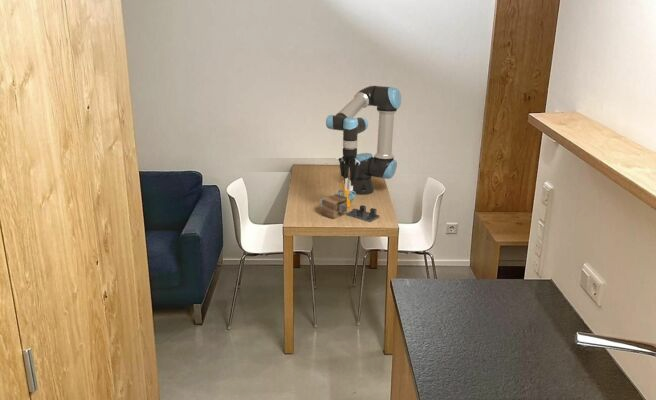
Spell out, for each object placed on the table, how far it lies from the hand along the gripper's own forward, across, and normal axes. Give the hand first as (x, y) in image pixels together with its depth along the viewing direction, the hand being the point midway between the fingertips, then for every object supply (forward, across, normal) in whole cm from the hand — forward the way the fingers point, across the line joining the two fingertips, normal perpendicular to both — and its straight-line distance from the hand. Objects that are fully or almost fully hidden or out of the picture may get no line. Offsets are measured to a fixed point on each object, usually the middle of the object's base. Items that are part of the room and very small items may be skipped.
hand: (348, 190), depth 329 cm
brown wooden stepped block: (+16, -9, 0) cm, 19 cm away
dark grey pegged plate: (+16, +3, +8) cm, 19 cm away
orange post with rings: (+17, -13, +15) cm, 26 cm away
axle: (+13, -11, 0) cm, 17 cm away
